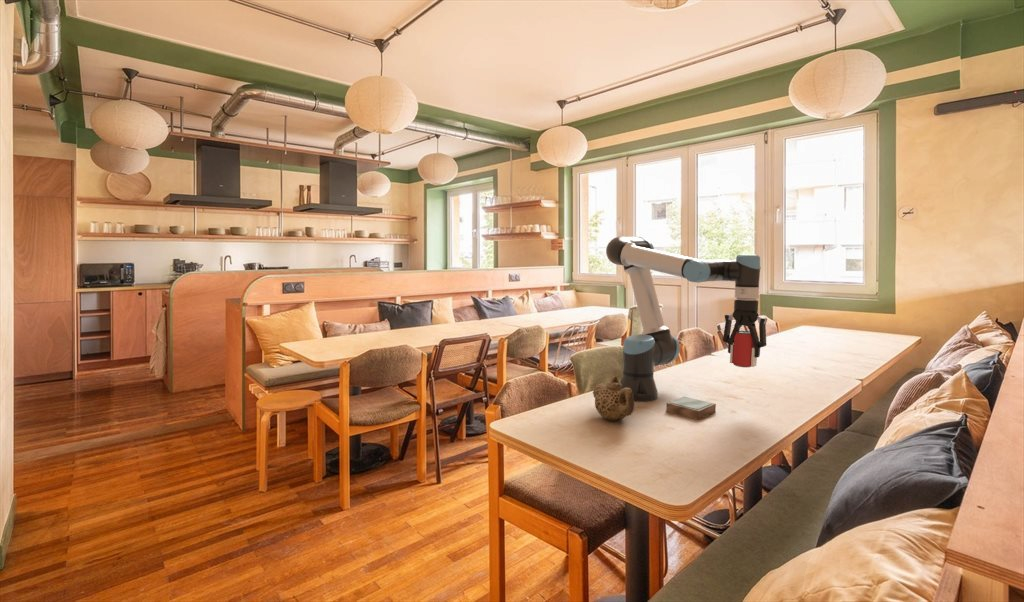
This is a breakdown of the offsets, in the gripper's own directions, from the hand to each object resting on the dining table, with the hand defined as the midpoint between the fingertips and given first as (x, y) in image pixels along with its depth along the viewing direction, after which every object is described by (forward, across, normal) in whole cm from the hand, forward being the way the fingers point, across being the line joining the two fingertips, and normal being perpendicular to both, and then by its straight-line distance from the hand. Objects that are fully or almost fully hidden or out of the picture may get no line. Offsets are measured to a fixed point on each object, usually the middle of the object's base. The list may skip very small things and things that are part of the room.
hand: (742, 364), depth 173 cm
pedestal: (+17, -11, -14) cm, 25 cm away
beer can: (+1, 0, 0) cm, 1 cm away
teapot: (+17, -24, -41) cm, 51 cm away
